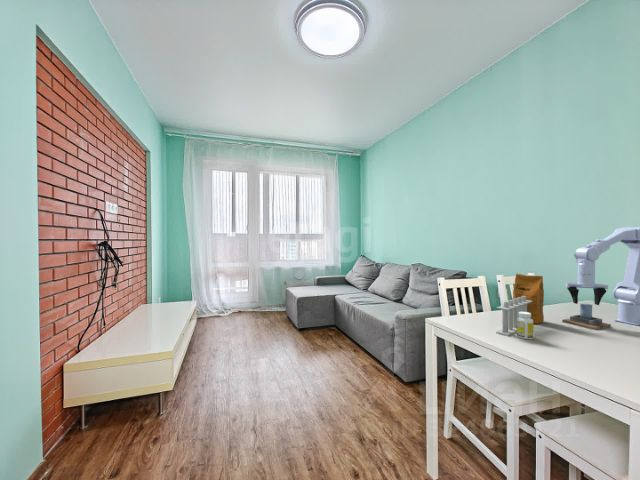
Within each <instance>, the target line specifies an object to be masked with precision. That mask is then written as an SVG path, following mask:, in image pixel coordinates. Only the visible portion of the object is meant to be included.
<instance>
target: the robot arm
mask: <svg viewBox="0 0 640 480" xmlns="http://www.w3.org/2000/svg"><path fill="white" fill-rule="evenodd" d="M613 230H614V231H613V232H612V233H611V234H610V235H608V236H606V237H605V238H603V239H601V238H599V239H594V241H593V242H590V243H589V244H586V246H584V247H579V248H577V249H576V250H575V251H574V253H573V257H574V258H575V259H576V260H575V261H576V262H575V263H577V282H565V283H564V285H565V287H566V289H567V290H568V293H569V294H570V296H571V299H572V301H573V304H576V305H578V303H579V301H578V300H579V291H580V289H581V288H582V289H592V290H593V296H594V301H593V302H594V305H596V306H600V303H601V301H602V298H603V297H604V295H605V294H607V290H609V284H605V283H596V261H598V260H599V258H600V256H601V255H602V254H604V253H606V252H607V251H609V250H610V249H611V246H612V245H615V244H617V243H619V242H620V243H622V244H624V246H627V247H628V248H629V251H628V255H627V260H626V266H625V272H624V275H623V280H622V281H619V282H618V283H616V285H615V287H614V289H613V291H612V296H613V299H615V300H616V302H618V307H617V308H618V309H617V318H613V321H615V322H619V323H624V324H628V325H633V326H634V325H635V326H639V325H640V226H633V227H631V226H630V227H621V226H620V227H618V228H616V229H613Z"/></svg>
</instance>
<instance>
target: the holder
mask: <svg viewBox="0 0 640 480" xmlns="http://www.w3.org/2000/svg"><path fill="white" fill-rule="evenodd" d="M561 322H562V323H565V324H568V325H574V326H578V327H582V328H585V329H590V330H594V331H598V330H601V329H606V328H609V327H610V328H611V326H612V324H611V323H607V322H603V319H602V318H599V317H594V316H592V320H587V319H583V318H580V313H579V314H576V315H570V316H569V318H566V319H562V320H561Z"/></svg>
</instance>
